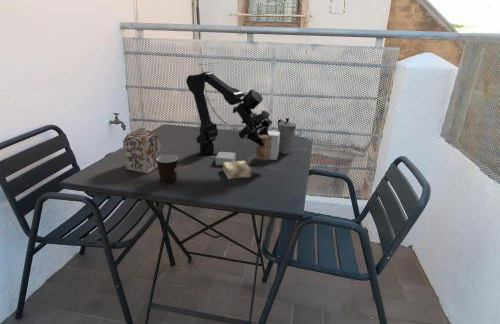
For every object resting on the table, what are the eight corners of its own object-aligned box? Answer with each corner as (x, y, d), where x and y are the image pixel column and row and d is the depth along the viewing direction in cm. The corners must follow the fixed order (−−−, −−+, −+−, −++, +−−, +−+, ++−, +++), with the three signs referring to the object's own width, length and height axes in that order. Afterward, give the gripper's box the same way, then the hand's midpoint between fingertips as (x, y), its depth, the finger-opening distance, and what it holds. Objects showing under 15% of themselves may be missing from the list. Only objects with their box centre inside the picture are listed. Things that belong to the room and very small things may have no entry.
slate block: (215, 165, 157) (215, 157, 155) (219, 159, 164) (219, 151, 163) (232, 166, 156) (232, 158, 154) (235, 160, 163) (235, 152, 162)
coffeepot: (299, 154, 173) (302, 120, 167) (284, 156, 170) (286, 122, 163) (283, 145, 186) (286, 113, 179) (269, 147, 182) (271, 114, 176)
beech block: (228, 179, 143) (228, 171, 141) (223, 170, 152) (223, 162, 150) (250, 177, 146) (250, 168, 144) (244, 168, 154) (244, 160, 153)
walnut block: (255, 158, 149) (256, 136, 145) (262, 155, 153) (263, 134, 149) (264, 160, 146) (265, 138, 143) (270, 157, 150) (271, 136, 146)
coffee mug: (168, 187, 133) (167, 164, 130) (153, 181, 138) (151, 159, 134) (188, 177, 143) (187, 155, 139) (173, 172, 147) (172, 151, 143)
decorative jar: (125, 169, 148) (120, 130, 141) (141, 160, 158) (138, 124, 151) (147, 174, 144) (144, 134, 138) (163, 164, 154) (160, 127, 148)
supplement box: (276, 160, 164) (278, 135, 160) (262, 158, 166) (263, 134, 161) (278, 155, 171) (280, 131, 166) (264, 153, 172) (265, 130, 168)
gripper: (245, 108, 136) (266, 139, 134) (270, 101, 150) (289, 130, 148) (229, 123, 143) (249, 153, 141) (255, 115, 157) (273, 142, 155)
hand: (266, 144), depth 146 cm, fingers closed on walnut block, 5 cm apart
